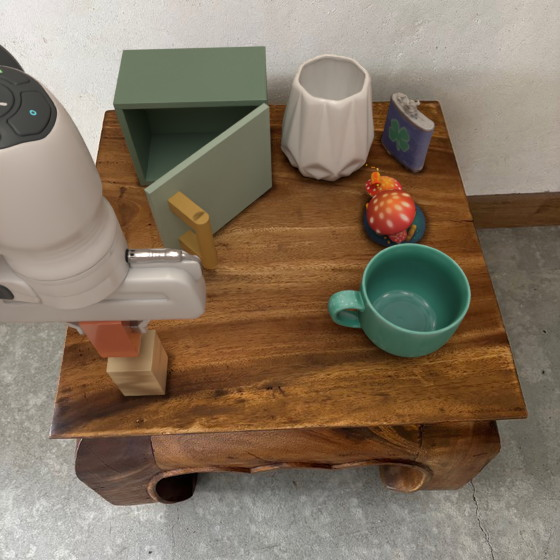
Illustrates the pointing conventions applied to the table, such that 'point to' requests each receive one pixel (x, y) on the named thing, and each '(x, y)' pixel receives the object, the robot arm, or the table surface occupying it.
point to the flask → (407, 132)
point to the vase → (328, 117)
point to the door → (213, 187)
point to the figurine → (391, 213)
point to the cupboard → (184, 100)
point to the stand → (141, 368)
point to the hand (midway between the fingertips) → (114, 327)
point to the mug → (406, 300)
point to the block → (112, 338)
